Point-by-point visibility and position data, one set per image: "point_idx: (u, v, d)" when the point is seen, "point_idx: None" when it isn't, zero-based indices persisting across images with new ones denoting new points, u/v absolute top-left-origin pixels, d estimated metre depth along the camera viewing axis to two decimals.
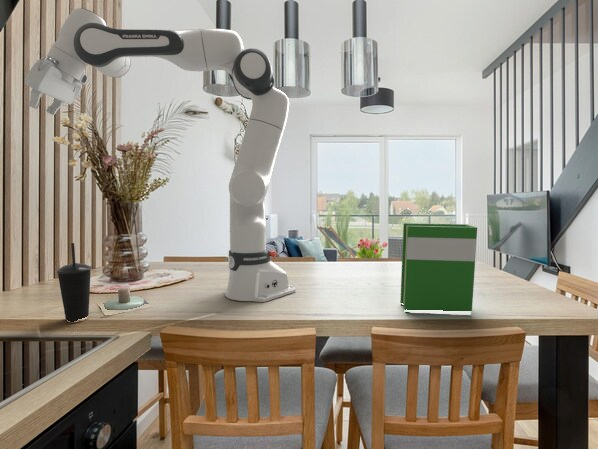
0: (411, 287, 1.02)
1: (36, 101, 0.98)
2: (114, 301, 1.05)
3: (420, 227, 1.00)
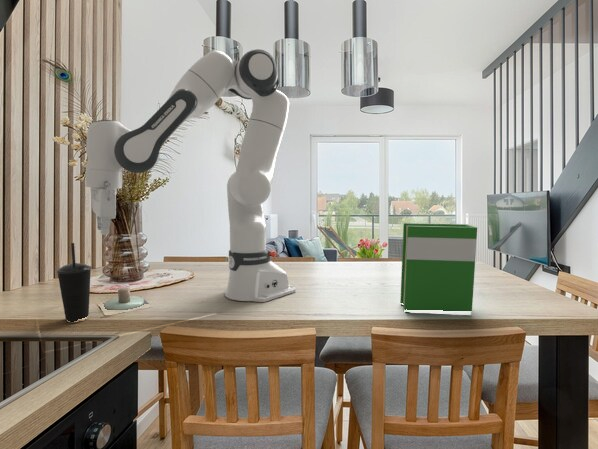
0: (411, 287, 1.02)
1: (108, 227, 0.98)
2: (114, 301, 1.05)
3: (420, 227, 1.00)
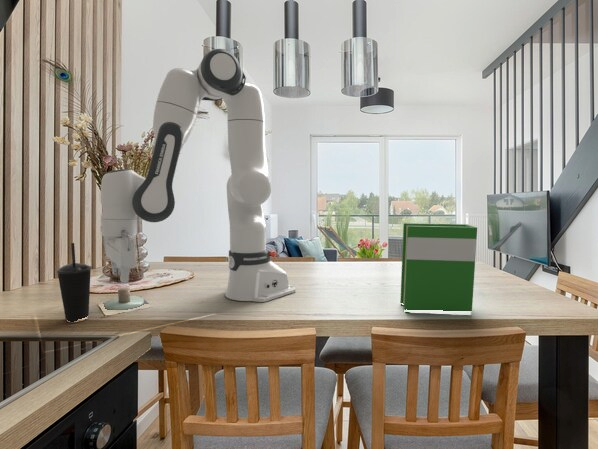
0: (411, 287, 1.02)
1: (128, 275, 1.00)
2: (113, 301, 1.05)
3: (420, 227, 1.00)
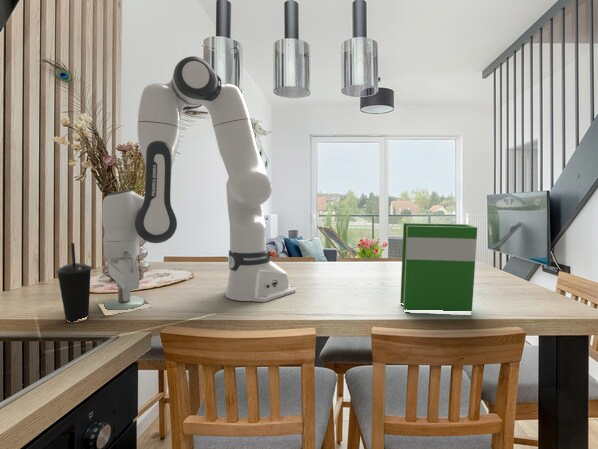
0: (411, 287, 1.02)
1: (129, 293, 1.03)
2: (113, 301, 1.05)
3: (420, 227, 1.00)
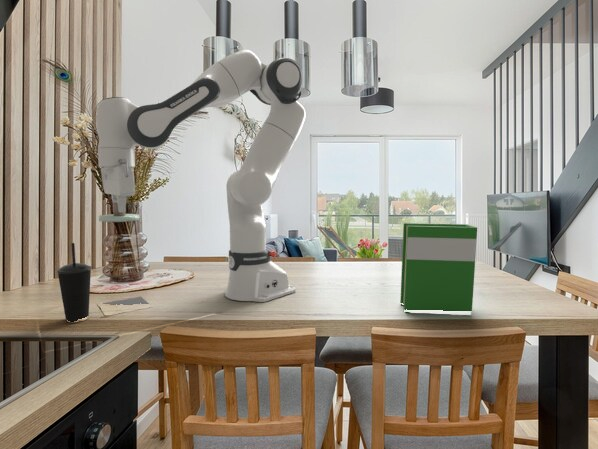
0: (411, 287, 1.02)
1: (124, 205, 1.00)
2: (108, 215, 1.02)
3: (420, 227, 1.00)
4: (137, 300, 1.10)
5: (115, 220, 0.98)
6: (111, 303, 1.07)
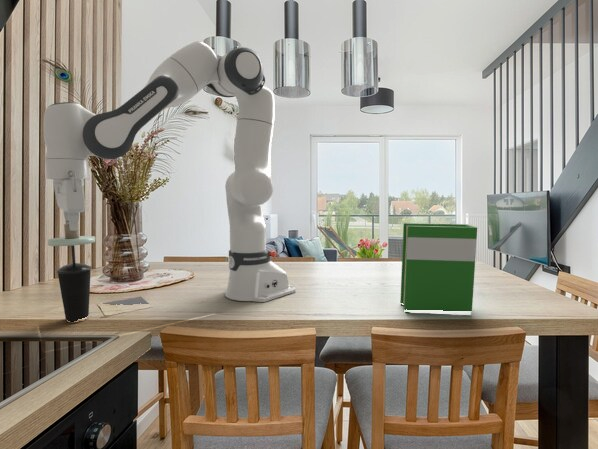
0: (411, 287, 1.02)
1: (77, 222, 0.89)
2: (60, 238, 0.92)
3: (420, 227, 1.00)
4: (137, 300, 1.10)
5: (65, 244, 0.88)
6: (111, 303, 1.07)
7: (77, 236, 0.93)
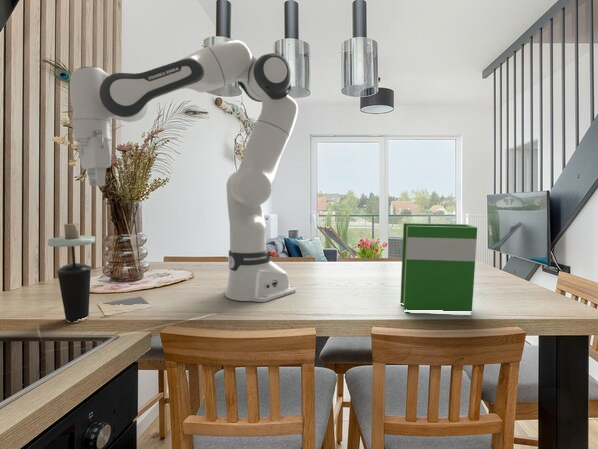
0: (411, 287, 1.02)
1: (104, 178, 0.96)
2: (60, 238, 0.92)
3: (420, 227, 1.00)
4: (137, 300, 1.10)
5: (65, 245, 0.88)
6: (111, 303, 1.07)
7: (77, 236, 0.92)
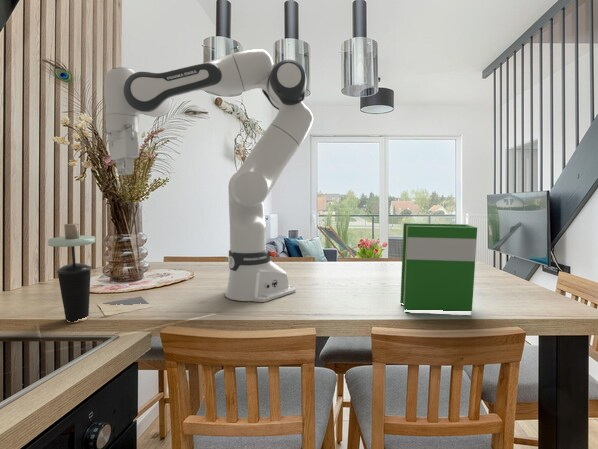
0: (411, 287, 1.02)
1: (132, 167, 1.07)
2: (60, 238, 0.92)
3: (420, 227, 1.00)
4: (137, 300, 1.10)
5: (65, 245, 0.88)
6: (111, 303, 1.07)
7: (77, 236, 0.92)
